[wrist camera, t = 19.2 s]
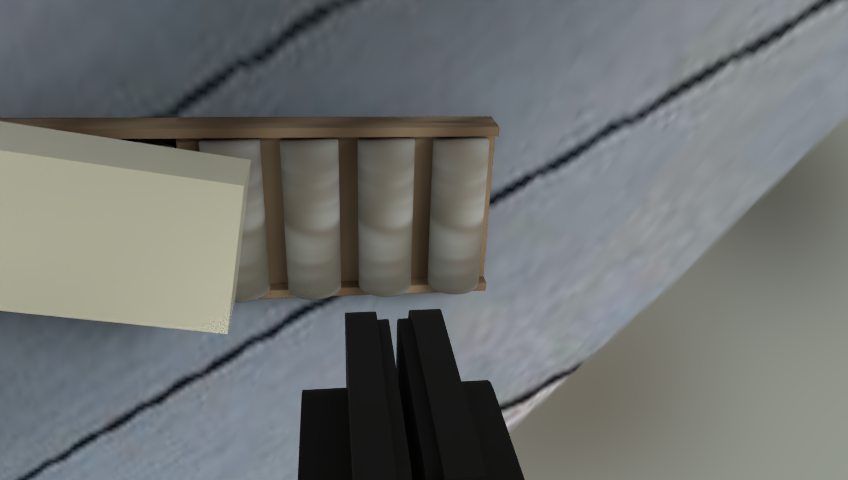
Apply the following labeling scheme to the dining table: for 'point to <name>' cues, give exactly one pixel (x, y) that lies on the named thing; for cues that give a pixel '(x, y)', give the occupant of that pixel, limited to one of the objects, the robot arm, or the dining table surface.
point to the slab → (119, 229)
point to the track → (343, 198)
